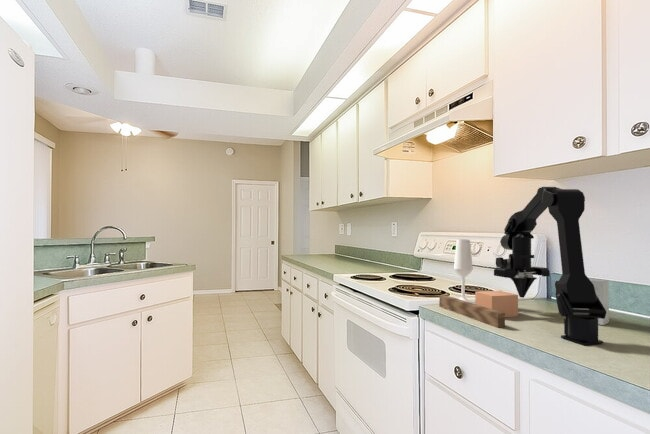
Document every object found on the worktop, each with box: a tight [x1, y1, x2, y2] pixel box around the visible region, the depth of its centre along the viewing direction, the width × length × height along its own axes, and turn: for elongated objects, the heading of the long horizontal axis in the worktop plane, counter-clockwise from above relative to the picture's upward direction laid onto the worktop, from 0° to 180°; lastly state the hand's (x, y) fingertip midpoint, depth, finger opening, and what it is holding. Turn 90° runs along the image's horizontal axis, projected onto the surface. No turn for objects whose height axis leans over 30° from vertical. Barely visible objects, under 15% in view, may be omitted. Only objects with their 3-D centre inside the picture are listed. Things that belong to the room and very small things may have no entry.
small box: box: [588, 277, 610, 326], centre depth 111 cm, size 8×6×13 cm
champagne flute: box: [453, 238, 473, 303], centre depth 136 cm, size 7×7×24 cm
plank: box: [438, 294, 506, 329], centre depth 116 cm, size 28×2×4 cm, turn 17°
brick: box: [474, 290, 519, 318], centre depth 119 cm, size 8×10×7 cm
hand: (521, 297), depth 122 cm, fingers closed
